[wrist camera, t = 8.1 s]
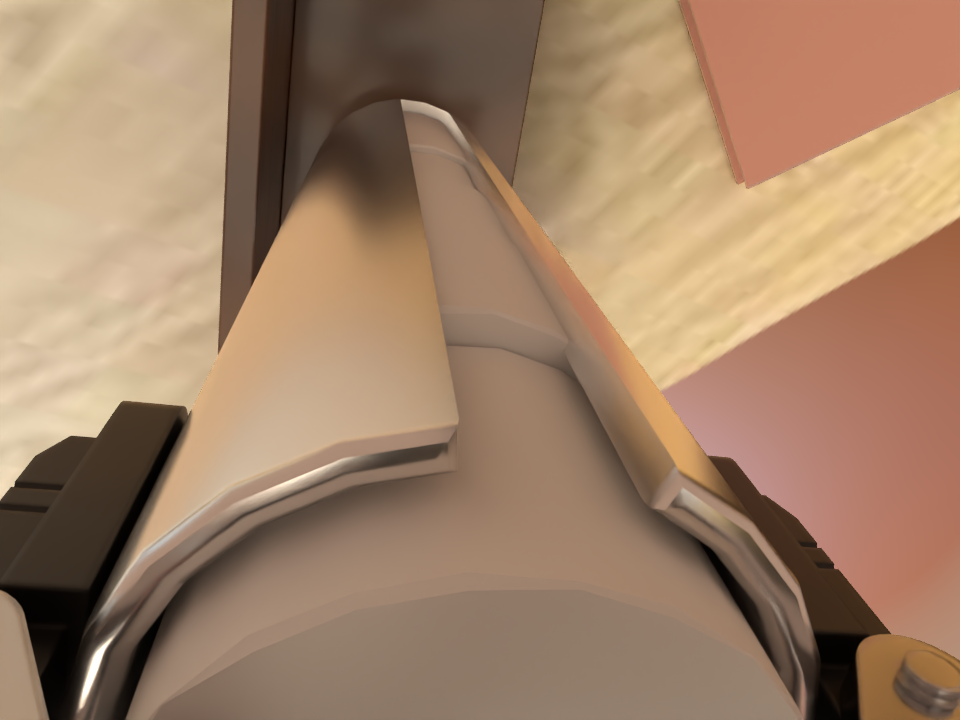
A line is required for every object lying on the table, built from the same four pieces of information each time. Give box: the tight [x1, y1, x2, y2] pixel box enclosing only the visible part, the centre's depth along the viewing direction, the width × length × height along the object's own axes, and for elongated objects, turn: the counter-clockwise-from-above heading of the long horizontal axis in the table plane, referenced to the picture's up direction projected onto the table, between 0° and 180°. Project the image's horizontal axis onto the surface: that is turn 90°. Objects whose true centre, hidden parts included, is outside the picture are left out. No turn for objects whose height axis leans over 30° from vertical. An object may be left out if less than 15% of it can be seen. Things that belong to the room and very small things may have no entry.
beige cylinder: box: [60, 99, 821, 720], centre depth 17 cm, size 6×6×25 cm
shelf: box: [218, 0, 545, 354], centre depth 33 cm, size 22×10×16 cm, turn 171°
